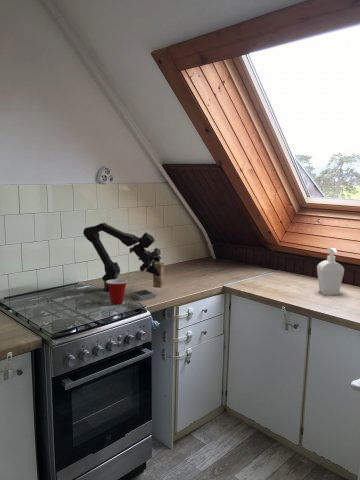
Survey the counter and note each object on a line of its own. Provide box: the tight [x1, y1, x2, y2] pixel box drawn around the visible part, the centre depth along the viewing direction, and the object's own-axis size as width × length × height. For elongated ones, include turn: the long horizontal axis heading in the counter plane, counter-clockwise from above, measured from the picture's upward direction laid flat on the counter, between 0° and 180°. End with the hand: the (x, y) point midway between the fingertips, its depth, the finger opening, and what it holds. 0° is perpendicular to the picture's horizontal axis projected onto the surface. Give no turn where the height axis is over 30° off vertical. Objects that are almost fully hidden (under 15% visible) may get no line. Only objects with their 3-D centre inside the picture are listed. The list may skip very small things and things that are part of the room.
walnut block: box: [152, 261, 165, 289], centre depth 229 cm, size 4×4×13 cm
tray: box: [130, 289, 156, 302], centre depth 226 cm, size 9×9×2 cm
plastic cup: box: [106, 278, 128, 306], centre depth 216 cm, size 11×11×12 cm
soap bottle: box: [316, 247, 345, 296], centre depth 234 cm, size 12×10×26 cm
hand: (160, 274), depth 228 cm, fingers closed on walnut block, 4 cm apart
